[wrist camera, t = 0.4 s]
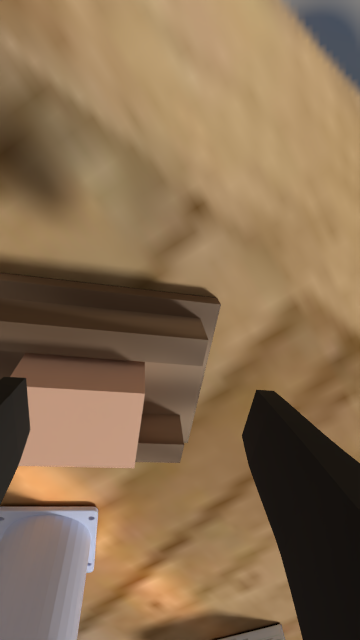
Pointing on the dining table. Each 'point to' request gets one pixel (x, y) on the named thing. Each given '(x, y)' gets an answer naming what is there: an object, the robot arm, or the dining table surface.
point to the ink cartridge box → (260, 634)
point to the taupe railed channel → (118, 343)
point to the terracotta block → (82, 410)
